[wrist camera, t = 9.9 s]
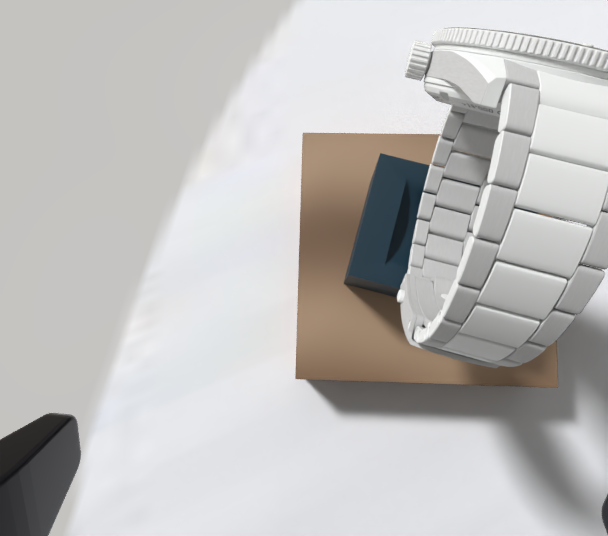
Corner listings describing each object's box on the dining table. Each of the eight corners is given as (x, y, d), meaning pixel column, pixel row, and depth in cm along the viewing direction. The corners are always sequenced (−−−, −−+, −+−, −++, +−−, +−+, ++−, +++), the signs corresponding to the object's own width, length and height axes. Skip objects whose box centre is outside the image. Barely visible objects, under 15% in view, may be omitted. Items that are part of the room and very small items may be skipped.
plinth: (528, 380, 20) (558, 387, 18) (298, 372, 20) (295, 378, 18) (521, 158, 21) (548, 135, 19) (304, 154, 22) (303, 132, 19)
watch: (515, 169, 19) (790, -51, 8) (470, 364, 18) (710, 427, 7) (379, 136, 19) (460, -119, 8) (329, 326, 18) (343, 327, 7)
